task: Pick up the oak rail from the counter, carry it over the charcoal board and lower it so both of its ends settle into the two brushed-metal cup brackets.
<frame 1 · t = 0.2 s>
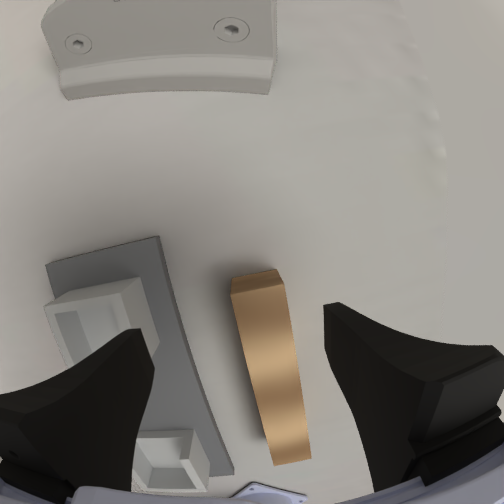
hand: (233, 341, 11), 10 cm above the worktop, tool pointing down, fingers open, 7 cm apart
rail: (273, 366, 23), on the worktop
grey stand: (167, 49, 18), on the worktop
bracket board: (145, 386, 23), on the worktop
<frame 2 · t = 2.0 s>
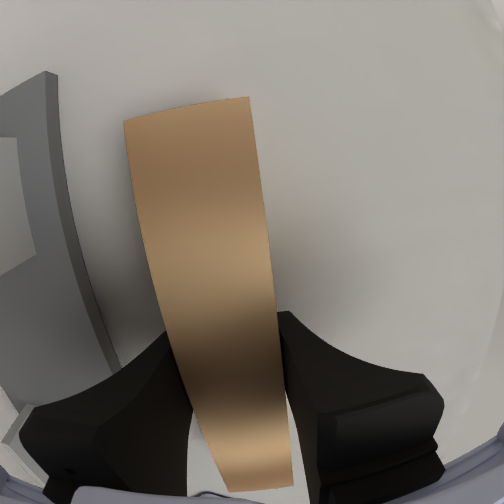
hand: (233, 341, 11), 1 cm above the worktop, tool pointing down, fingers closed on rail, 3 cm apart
rail: (233, 320, 13), on the worktop, touching gripper
bracket board: (34, 336, 12), on the worktop
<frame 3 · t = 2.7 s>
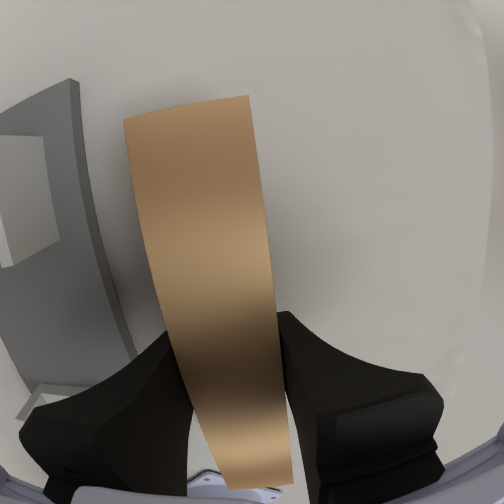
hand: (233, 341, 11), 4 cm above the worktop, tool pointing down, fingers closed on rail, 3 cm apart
rail: (233, 318, 13), point 2 cm above the worktop, touching gripper
bracket board: (52, 317, 14), on the worktop
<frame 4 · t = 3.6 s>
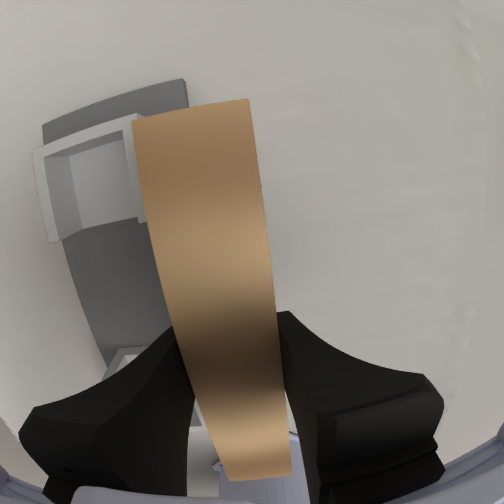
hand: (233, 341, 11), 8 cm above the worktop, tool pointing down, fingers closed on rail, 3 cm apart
rail: (234, 311, 13), point 6 cm above the worktop, touching gripper
bracket board: (144, 280, 19), on the worktop
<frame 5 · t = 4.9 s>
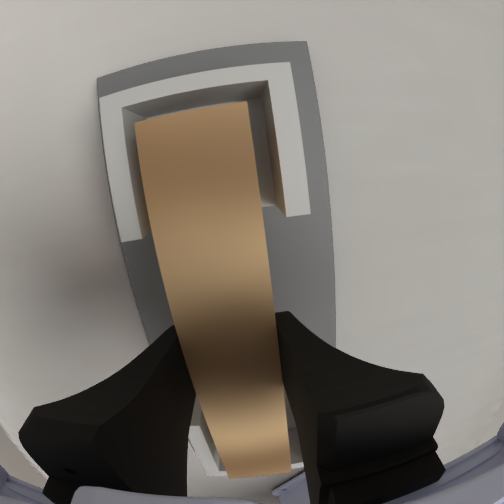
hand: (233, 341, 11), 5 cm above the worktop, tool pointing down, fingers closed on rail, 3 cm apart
rail: (233, 309, 14), point 2 cm above the worktop, touching bracket board, gripper
bracket board: (234, 293, 15), on the worktop
when the fingers open (4 cm above the worktop, at t = 5.2 s): rail stays where it is, resting on bracket board.
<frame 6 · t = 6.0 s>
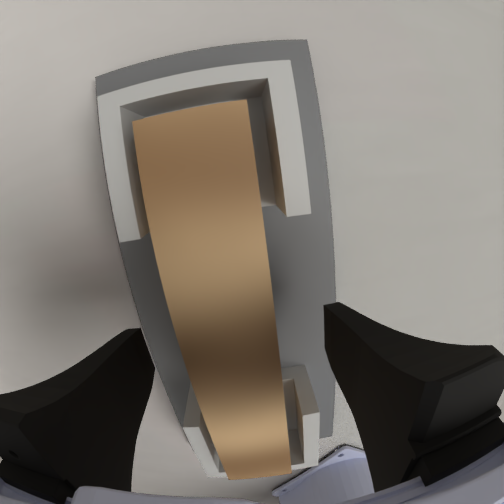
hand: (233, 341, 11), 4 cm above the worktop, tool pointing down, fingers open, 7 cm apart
rail: (233, 310, 13), point 2 cm above the worktop, touching bracket board
bracket board: (234, 293, 15), on the worktop
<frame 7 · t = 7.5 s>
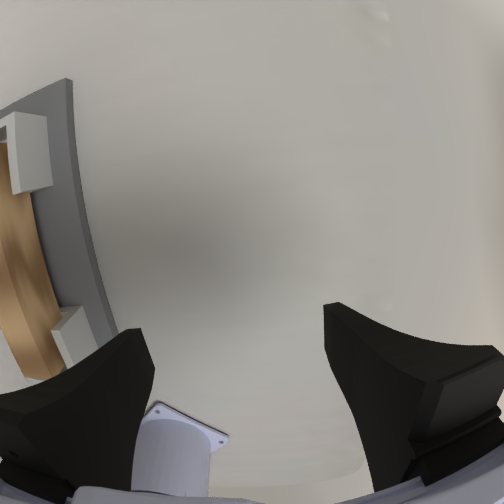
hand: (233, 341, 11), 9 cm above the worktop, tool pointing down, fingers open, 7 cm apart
rail: (27, 256, 17), point 2 cm above the worktop, touching bracket board
bracket board: (42, 249, 19), on the worktop
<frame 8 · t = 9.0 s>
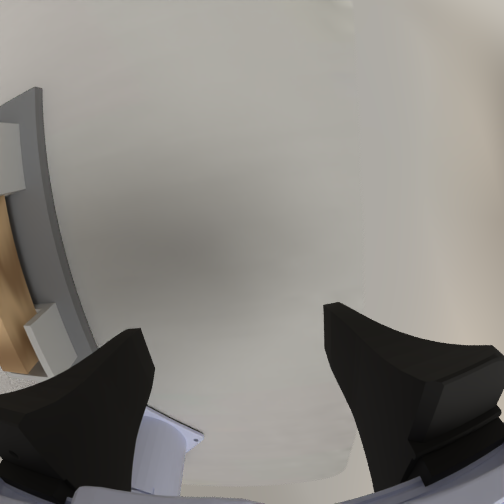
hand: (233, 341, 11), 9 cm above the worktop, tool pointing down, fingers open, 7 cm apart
rail: (4, 256, 17), point 2 cm above the worktop, touching bracket board
bracket board: (19, 249, 19), on the worktop
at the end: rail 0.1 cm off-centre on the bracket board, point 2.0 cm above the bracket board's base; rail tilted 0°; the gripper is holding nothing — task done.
